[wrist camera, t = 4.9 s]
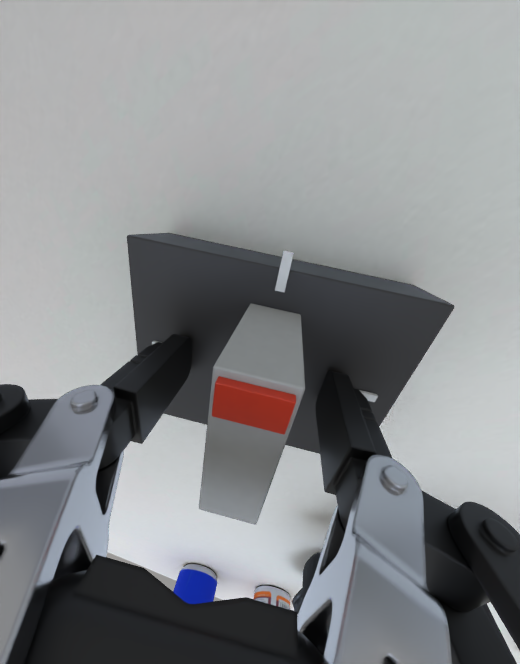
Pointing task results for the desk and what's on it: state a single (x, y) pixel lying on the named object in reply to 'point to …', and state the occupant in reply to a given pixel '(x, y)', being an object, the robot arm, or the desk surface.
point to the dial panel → (288, 295)
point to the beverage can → (196, 584)
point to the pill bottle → (272, 596)
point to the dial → (251, 411)
